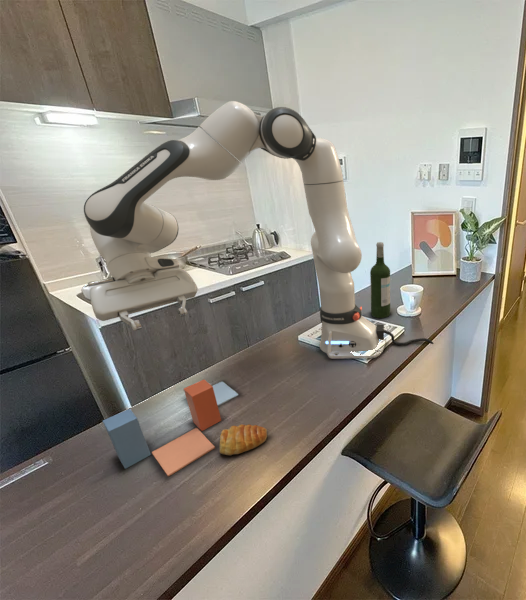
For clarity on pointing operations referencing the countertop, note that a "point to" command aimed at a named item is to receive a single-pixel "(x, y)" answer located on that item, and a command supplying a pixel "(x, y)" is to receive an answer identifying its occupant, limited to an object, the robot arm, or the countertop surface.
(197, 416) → the terracotta block
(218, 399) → the blue mat
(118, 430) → the blue block
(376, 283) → the wine bottle
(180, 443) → the terracotta mat
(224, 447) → the pastry
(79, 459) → the countertop surface
